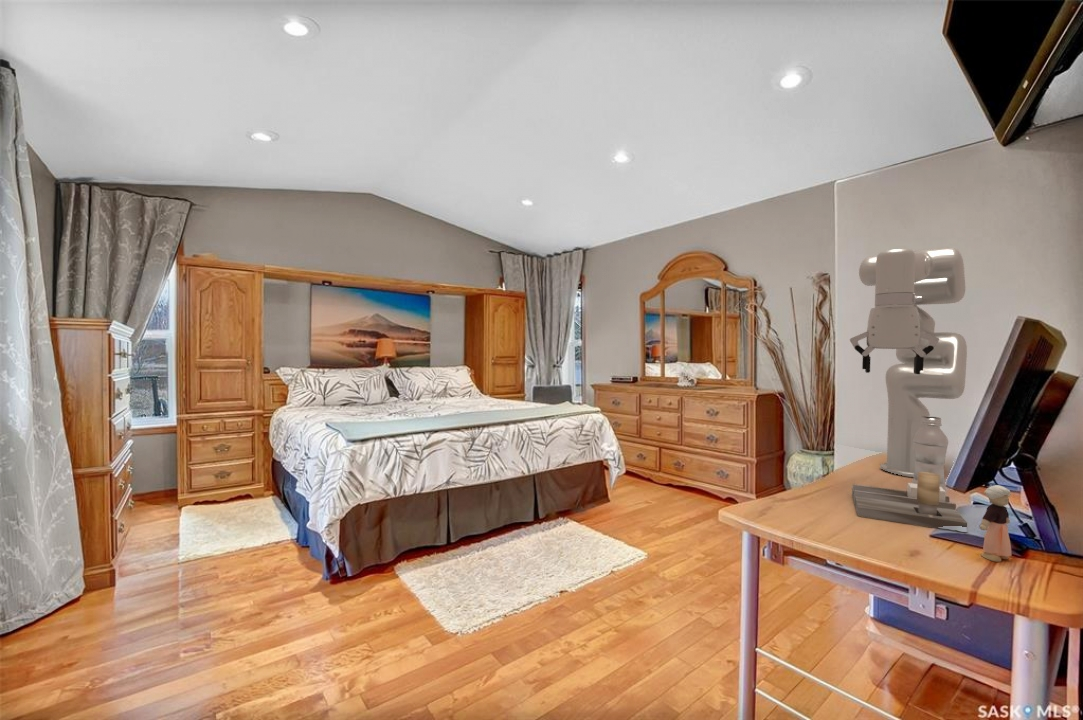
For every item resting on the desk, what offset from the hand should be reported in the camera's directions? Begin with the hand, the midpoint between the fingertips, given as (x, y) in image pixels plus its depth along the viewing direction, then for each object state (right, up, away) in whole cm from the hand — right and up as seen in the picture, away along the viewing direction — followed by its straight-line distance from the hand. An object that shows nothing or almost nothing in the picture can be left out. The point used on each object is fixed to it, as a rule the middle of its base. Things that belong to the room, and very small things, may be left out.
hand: (891, 373), depth 114 cm
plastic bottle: (+8, -31, -1) cm, 32 cm away
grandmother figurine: (-4, -32, -31) cm, 44 cm away
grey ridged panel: (-4, -31, -9) cm, 32 cm away
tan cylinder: (-3, -31, -14) cm, 34 cm away
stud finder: (+1, -29, -8) cm, 30 cm away
